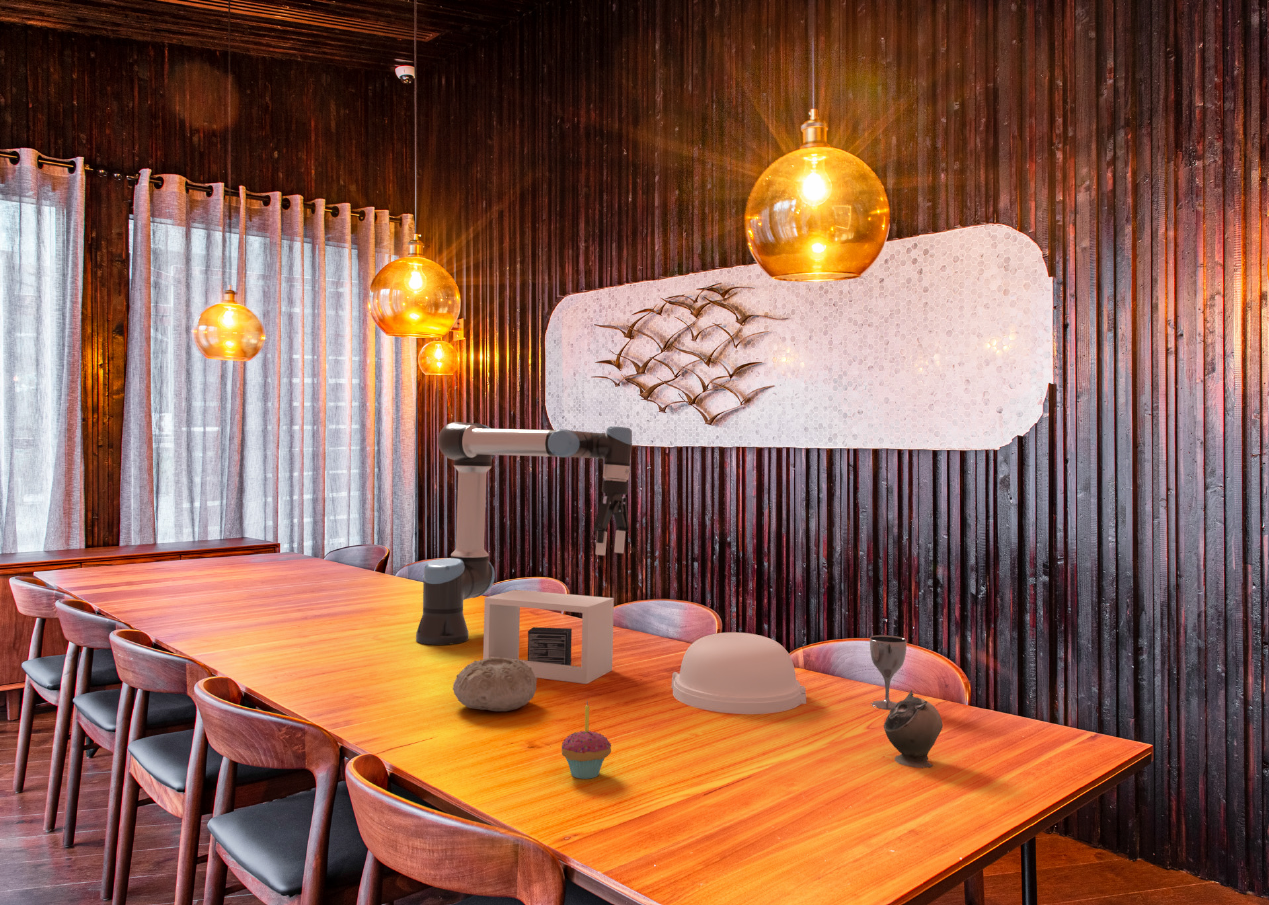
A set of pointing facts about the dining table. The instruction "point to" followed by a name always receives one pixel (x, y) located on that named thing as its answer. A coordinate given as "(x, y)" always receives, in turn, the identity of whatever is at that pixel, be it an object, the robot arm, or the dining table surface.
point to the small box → (550, 645)
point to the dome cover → (738, 675)
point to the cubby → (595, 617)
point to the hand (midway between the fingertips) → (609, 553)
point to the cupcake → (585, 751)
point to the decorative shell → (495, 684)
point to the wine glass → (887, 662)
